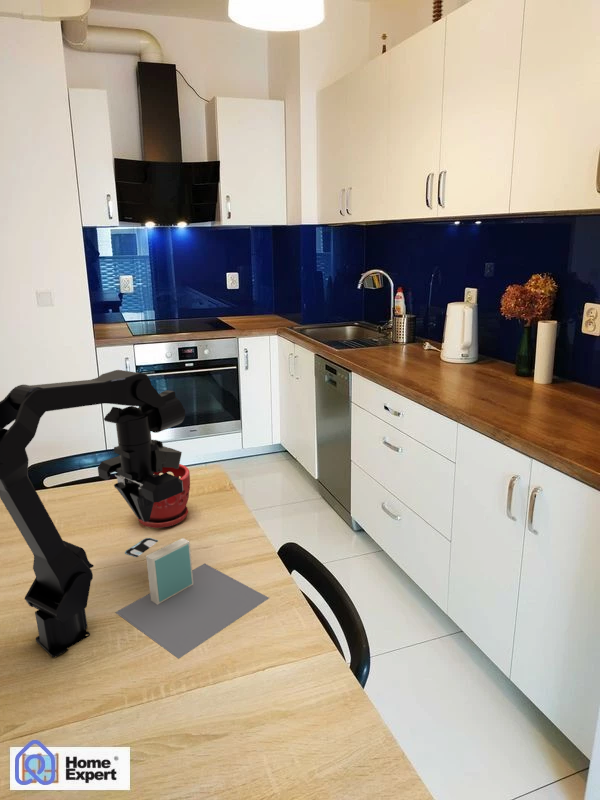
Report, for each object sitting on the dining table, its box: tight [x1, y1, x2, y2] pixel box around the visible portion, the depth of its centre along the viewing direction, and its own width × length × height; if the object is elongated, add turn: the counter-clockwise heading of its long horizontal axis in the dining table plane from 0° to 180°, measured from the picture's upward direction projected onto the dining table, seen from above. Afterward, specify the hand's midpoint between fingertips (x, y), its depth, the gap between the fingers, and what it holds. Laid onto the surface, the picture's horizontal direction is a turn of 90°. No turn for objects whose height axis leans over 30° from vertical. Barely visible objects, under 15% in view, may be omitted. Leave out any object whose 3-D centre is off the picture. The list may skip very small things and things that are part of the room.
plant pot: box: [136, 463, 191, 529], centre depth 133 cm, size 13×13×12 cm
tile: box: [145, 537, 193, 605], centre depth 105 cm, size 8×2×9 cm, turn 138°
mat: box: [114, 563, 270, 660], centre depth 102 cm, size 20×18×1 cm
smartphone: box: [124, 537, 159, 558], centre depth 119 cm, size 7×1×15 cm
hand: (143, 519), depth 107 cm, fingers closed
